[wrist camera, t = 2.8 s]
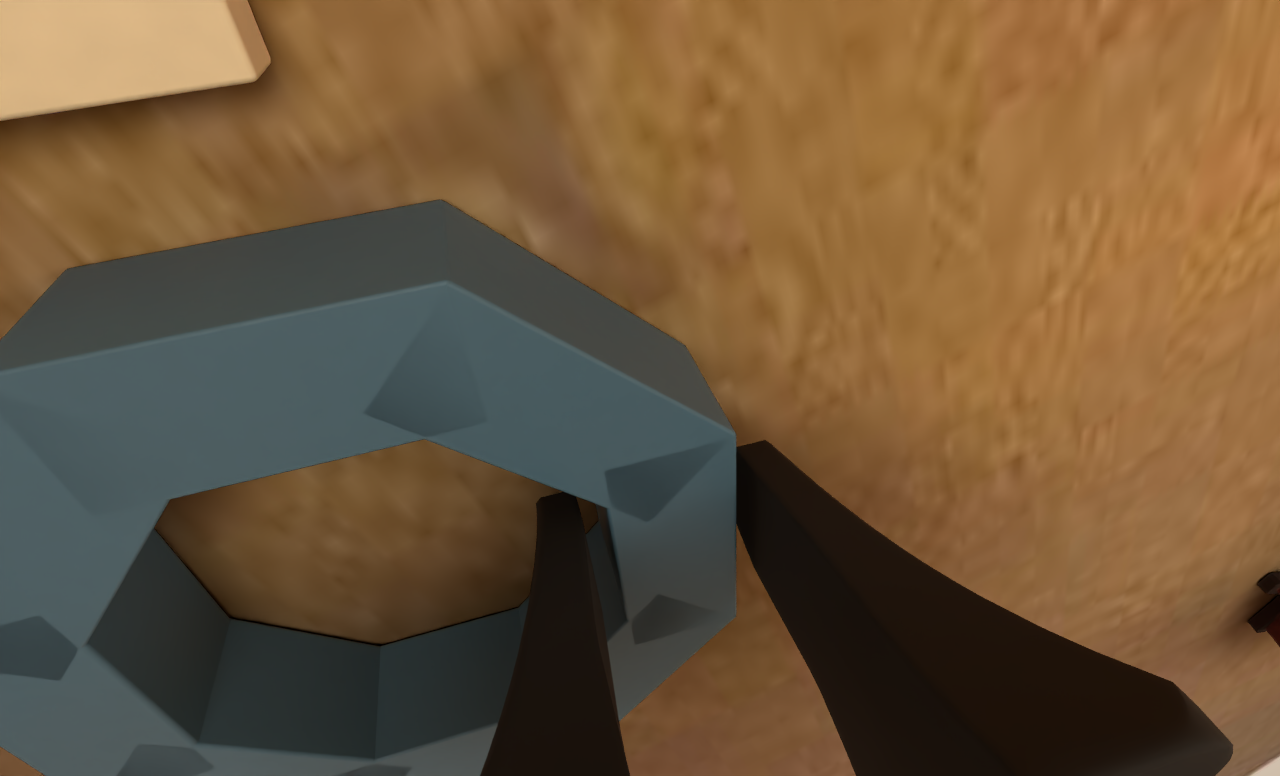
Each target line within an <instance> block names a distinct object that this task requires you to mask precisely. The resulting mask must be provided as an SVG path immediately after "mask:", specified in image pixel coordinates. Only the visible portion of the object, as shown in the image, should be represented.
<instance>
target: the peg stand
mask: <svg viewBox="0 0 1280 776" xmlns="http://www.w3.org/2000/svg"><path fill="white" fill-rule="evenodd" d="M270 64H271V58H270V56H269V53H268V51H267V48H266V46H265V43H264V41H263V38H262V36H261V33H260V31H259V28H258V26H257V23H256V21H255V18H254V16H253V13H252V11H251V8H250V6H249V3H248V1H247V0H0V121H4V120H11V119H17V118H24V117H30V116H37V115H43V114H50V113H56V112H63V111H69V110H76V109H82V108H89V107H95V106H102V105H108V104H115V103H121V102H128V101H135V100H141V99H148V98H154V97H161V96H167V95H174V94H180V93H187V92H193V91H200V90H206V89H213V88H219V87H226V86H232V85H239V84H245V83H252V82H254V81H256V80H257V79H258V78H259V77H260V76H261V74H262V73H263V72H264V71H265V70H266V68H267V67H268V66H269V65H270Z"/></svg>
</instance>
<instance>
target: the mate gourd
mask: <svg viewBox="0 0 1280 776" xmlns="http://www.w3.org/2000/svg"><path fill="white" fill-rule="evenodd" d="M1258 586H1259V587H1260V588H1261V589H1262V590H1263V591H1264V592H1265V593H1267V594H1280V572H1275V573H1271V574H1269V575H1267V576H1266V577H1265V578H1264V579H1263V580H1262V581H1260V582H1259V583H1258ZM1248 623H1249V624H1250V625H1251V626H1252V627H1253V628H1254V630H1255V631H1256V632H1257V633H1260V632H1265V631H1267V632H1268V633H1269V634H1270V635H1271V636H1272V638H1273V639H1274V640H1275V642H1276V643H1277V644H1278V645H1279V647H1280V595H1279V596H1278V597H1277V598H1275V599H1274V600H1273V601H1272V602H1271V603H1269V604H1268V605H1267V606H1266V607H1265V608H1263V609H1262V610H1261V611H1260V612H1259V613H1257V614H1256V615H1255V616H1254V617H1253V618H1252V619H1251V620H1249V621H1248Z"/></svg>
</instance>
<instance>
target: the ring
mask: <svg viewBox="0 0 1280 776" xmlns="http://www.w3.org/2000/svg"><path fill="white" fill-rule="evenodd" d="M423 439H425V440H428V441H431V442H433V443H436V444H439V445H441V446H444V447H447V448H449V449H452V450H454V451H457V452H460V453H462V454H465V455H468V456H470V457H473V458H476V459H478V460H481V461H484V462H486V463H489V464H491V465H494V466H497V467H499V468H502V469H505V470H507V471H510V472H513V473H515V474H518V475H521V476H523V477H526V478H529V479H531V480H534V481H536V482H539V483H542V484H544V485H547V486H550V487H552V488H555V489H558V490H560V491H563V492H566V493H568V494H571V495H573V496H576V497H579V498H581V499H584V500H587V501H589V502H592V503H595V504H596V509H597V514H598V519H599V521H598V522H597V523H596V524H595V525H594V526H593V528H592V529H591V530H590V531H589V532H588V533H587V534H586V539H587V543H588V548H589V553H590V557H591V562H592V566H593V571H594V575H595V580H596V584H597V589H598V593H599V598H600V603H601V607H602V612H603V619H604V625H605V632H606V638H607V645H608V652H609V658H610V665H611V671H612V678H613V685H614V691H615V698H616V705H617V711H618V718H619V721H620V720H621V719H622V718H623V717H625V716H626V715H627V714H628V713H629V712H630V711H631V710H632V709H633V708H635V707H636V706H637V705H638V704H639V703H640V702H641V701H642V700H643V699H645V698H646V697H647V696H648V695H649V694H650V693H651V692H652V691H653V690H655V689H656V688H657V687H658V686H659V685H660V684H661V683H662V682H664V681H665V680H666V679H667V678H668V677H669V676H670V675H671V674H672V673H674V672H675V671H676V670H677V669H678V668H679V667H680V666H681V665H682V664H684V663H685V662H686V661H687V660H688V659H689V658H690V657H691V656H692V655H694V654H695V653H696V652H697V651H698V650H699V649H700V648H701V647H703V646H704V645H705V644H706V643H707V642H708V641H709V640H710V639H711V638H713V637H714V636H715V635H716V634H717V633H718V632H719V631H720V630H721V629H723V628H724V627H725V626H726V625H727V624H728V623H729V622H730V621H731V620H733V619H734V618H735V617H736V433H735V431H734V430H733V428H732V426H731V424H730V423H729V421H728V419H727V417H726V416H725V414H724V412H723V410H722V409H721V407H720V405H719V403H718V402H717V400H716V398H715V397H714V395H713V393H712V391H711V390H710V388H709V386H708V384H707V383H706V381H705V379H704V377H703V376H702V374H701V372H700V370H699V369H698V367H697V365H696V364H695V362H694V360H693V358H692V357H691V355H690V353H689V351H688V350H687V348H686V346H685V345H683V344H682V343H680V342H678V341H677V340H675V339H673V338H672V337H670V336H668V335H667V334H665V333H663V332H662V331H660V330H658V329H657V328H655V327H653V326H652V325H650V324H648V323H647V322H645V321H643V320H642V319H640V318H638V317H637V316H635V315H633V314H632V313H630V312H628V311H627V310H625V309H623V308H622V307H620V306H618V305H617V304H615V303H613V302H612V301H610V300H608V299H607V298H605V297H603V296H602V295H600V294H598V293H597V292H595V291H593V290H592V289H590V288H588V287H587V286H585V285H583V284H582V283H580V282H578V281H577V280H575V279H573V278H572V277H570V276H568V275H567V274H565V273H563V272H562V271H560V270H558V269H557V268H555V267H553V266H552V265H550V264H548V263H547V262H545V261H543V260H542V259H540V258H538V257H537V256H535V255H533V254H532V253H530V252H528V251H527V250H525V249H523V248H522V247H520V246H518V245H517V244H515V243H513V242H512V241H510V240H508V239H507V238H505V237H503V236H502V235H500V234H498V233H497V232H495V231H493V230H492V229H490V228H488V227H487V226H485V225H483V224H482V223H480V222H478V221H477V220H475V219H473V218H472V217H470V216H468V215H467V214H465V213H463V212H462V211H460V210H458V209H457V208H455V207H453V206H452V205H450V204H448V203H447V202H445V201H442V200H436V201H430V202H425V203H419V204H414V205H409V206H403V207H398V208H392V209H387V210H382V211H376V212H371V213H365V214H360V215H355V216H349V217H344V218H339V219H333V220H328V221H322V222H317V223H312V224H306V225H301V226H295V227H290V228H285V229H279V230H274V231H268V232H263V233H258V234H252V235H247V236H241V237H236V238H231V239H225V240H220V241H214V242H209V243H204V244H198V245H193V246H187V247H182V248H177V249H171V250H166V251H160V252H155V253H150V254H144V255H139V256H134V257H128V258H123V259H117V260H112V261H107V262H101V263H96V264H90V265H85V266H80V267H74V268H69V269H67V270H65V271H64V272H63V273H62V274H61V275H60V276H59V277H58V278H57V280H56V281H55V282H54V283H53V284H52V285H51V286H50V287H49V288H48V289H47V290H46V291H45V293H44V294H43V295H42V296H41V297H40V298H39V299H38V300H37V301H36V302H35V303H34V304H33V306H32V307H31V308H30V309H29V310H28V311H27V312H26V313H25V314H24V315H23V316H22V317H21V319H20V320H19V321H18V322H17V323H16V324H15V325H14V326H13V327H12V328H11V329H10V330H9V332H8V333H7V334H6V335H5V336H4V337H3V338H2V339H1V340H0V747H2V748H4V749H5V750H7V751H8V752H10V753H11V754H13V755H14V756H16V757H17V758H19V759H21V760H22V761H24V762H25V763H27V764H28V765H30V766H31V767H33V768H34V769H36V770H38V771H39V772H41V773H42V774H44V775H45V776H480V775H481V772H482V769H483V766H484V763H485V761H486V758H487V755H488V752H489V749H490V746H491V743H492V740H493V737H494V734H495V731H496V728H497V725H498V722H499V719H500V716H501V713H502V710H503V706H504V703H505V699H506V696H507V693H508V689H509V686H510V682H511V678H512V675H513V671H514V667H515V663H516V659H517V655H518V651H519V646H520V642H521V637H522V632H523V628H524V623H525V618H526V614H527V609H528V603H529V597H530V596H529V597H528V598H527V599H526V600H525V601H524V602H523V603H522V604H521V605H520V607H519V608H516V609H512V610H508V611H505V612H501V613H498V614H494V615H490V616H487V617H483V618H480V619H476V620H473V621H469V622H465V623H462V624H458V625H455V626H451V627H448V628H444V629H440V630H437V631H433V632H430V633H426V634H422V635H419V636H415V637H412V638H408V639H405V640H401V641H397V642H394V643H390V644H387V645H383V646H375V645H370V644H365V643H359V642H354V641H349V640H343V639H338V638H332V637H327V636H322V635H316V634H311V633H306V632H300V631H295V630H290V629H284V628H279V627H274V626H268V625H263V624H258V623H252V622H247V621H242V620H236V619H231V618H229V617H228V616H227V615H226V614H225V612H224V611H223V610H222V609H221V608H220V606H219V605H218V604H217V603H216V602H215V600H214V599H213V598H212V597H211V596H210V595H209V593H208V592H207V591H206V590H205V589H204V587H203V586H202V585H201V584H200V583H199V581H198V580H197V579H196V578H195V577H194V575H193V574H192V573H191V572H190V571H189V570H188V568H187V567H186V566H185V565H184V564H183V562H182V561H181V560H180V559H179V558H178V556H177V555H176V554H175V553H174V552H173V550H172V549H171V548H170V547H169V546H168V545H167V543H166V542H165V541H164V540H163V539H162V537H161V536H160V535H159V534H158V533H157V531H156V530H155V529H154V527H155V525H156V523H157V522H158V520H159V518H160V516H161V515H162V513H163V511H164V510H165V508H166V506H167V504H168V503H169V501H170V499H174V498H178V497H182V496H186V495H191V494H195V493H199V492H203V491H207V490H212V489H216V488H220V487H224V486H229V485H233V484H237V483H241V482H245V481H250V480H254V479H258V478H262V477H267V476H271V475H275V474H279V473H283V472H288V471H292V470H296V469H300V468H305V467H309V466H313V465H317V464H321V463H326V462H330V461H334V460H338V459H343V458H347V457H351V456H355V455H359V454H364V453H368V452H372V451H376V450H381V449H385V448H389V447H393V446H397V445H402V444H406V443H410V442H414V441H419V440H423Z"/></svg>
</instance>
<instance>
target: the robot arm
mask: <svg viewBox="0 0 1280 776" xmlns="http://www.w3.org/2000/svg"><path fill="white" fill-rule="evenodd" d="M536 508H537V541H536V552H535V563H534V570H533V577H532V584H531V590H530V597H529V603H528V609H527V614H526V618H525V623H524V628H523V632H522V637H521V642H520V646H519V651H518V655H517V659H516V663H515V667H514V671H513V675H512V678H511V682H510V686H509V689H508V693H507V696H506V699H505V703H504V706H503V710H502V713H501V716H500V719H499V722H498V725H497V728H496V731H495V734H494V737H493V740H492V743H491V746H490V749H489V752H488V755H487V758H486V761H485V763H484V766H483V769H482V772H481V775H480V776H630V773H629V769H628V765H627V761H626V756H625V752H624V746H623V741H622V736H621V730H620V724H619V718H618V711H617V705H616V698H615V691H614V685H613V678H612V671H611V665H610V658H609V652H608V645H607V638H606V632H605V625H604V619H603V612H602V607H601V603H600V598H599V593H598V589H597V584H596V580H595V575H594V571H593V566H592V562H591V557H590V553H589V548H588V543H587V539H586V534H585V530H584V525H583V521H582V517H581V513H580V509H579V506H578V502H577V498H576V496H573V495H571V494H568V493H566V492H560V493H556V494H553V495H549V496H545V497H541V498H540V499H539V501H538V502H537V503H536ZM736 524H737V526H738V529H739V531H740V534H741V536H742V539H743V541H744V544H745V547H746V549H747V551H748V554H749V556H750V559H751V561H752V564H753V566H754V568H755V570H756V572H757V574H758V576H759V578H760V579H761V581H762V583H763V585H764V587H765V589H766V591H767V592H768V594H769V596H770V598H771V600H772V602H773V603H774V605H775V607H776V609H777V611H778V613H779V614H780V616H781V618H782V620H783V622H784V624H785V625H786V627H787V629H788V631H789V633H790V635H791V636H792V638H793V640H794V642H795V644H796V645H797V647H798V649H799V651H800V653H801V655H802V656H803V658H804V660H805V662H806V664H807V666H808V667H809V669H810V671H811V673H812V675H813V677H814V679H815V681H816V683H817V685H818V687H819V689H820V691H821V694H822V696H823V698H824V701H825V703H826V705H827V708H828V710H829V712H830V715H831V717H832V719H833V721H834V724H835V726H836V728H837V731H838V733H839V735H840V738H841V740H842V742H843V745H844V747H845V750H846V752H847V755H848V757H849V759H850V762H851V764H852V767H853V769H854V772H855V774H856V776H1215V775H1216V774H1217V773H1218V772H1219V771H1220V770H1221V769H1222V768H1223V767H1224V766H1225V765H1226V764H1227V763H1228V762H1229V761H1230V759H1231V756H1232V754H1233V744H1232V743H1231V742H1230V741H1229V740H1228V739H1227V737H1226V736H1225V735H1224V734H1223V733H1222V732H1221V731H1220V730H1219V729H1218V728H1217V727H1216V726H1215V724H1214V723H1213V722H1212V721H1211V720H1210V719H1209V718H1208V717H1207V716H1206V715H1205V714H1204V712H1203V711H1202V710H1201V709H1200V708H1199V707H1198V706H1197V705H1196V704H1195V703H1194V702H1193V701H1192V700H1191V699H1190V698H1189V697H1188V696H1187V695H1186V694H1185V693H1184V692H1183V691H1181V690H1180V689H1179V688H1178V687H1177V686H1176V685H1175V684H1174V683H1173V682H1171V681H1169V680H1166V679H1164V678H1161V677H1159V676H1156V675H1153V674H1151V673H1148V672H1146V671H1143V670H1141V669H1138V668H1136V667H1133V666H1131V665H1128V664H1125V663H1123V662H1120V661H1118V660H1115V659H1113V658H1110V657H1108V656H1105V655H1103V654H1100V653H1098V652H1095V651H1093V650H1091V649H1088V648H1086V647H1084V646H1081V645H1079V644H1077V643H1075V642H1073V641H1070V640H1068V639H1066V638H1064V637H1061V636H1059V635H1057V634H1055V633H1053V632H1050V631H1048V630H1046V629H1044V628H1042V627H1040V626H1038V625H1036V624H1034V623H1032V622H1030V621H1028V620H1026V619H1024V618H1022V617H1020V616H1018V615H1016V614H1014V613H1012V612H1010V611H1008V610H1006V609H1004V608H1002V607H1000V606H998V605H996V604H995V603H993V602H991V601H989V600H987V599H985V598H983V597H981V596H979V595H977V594H976V593H974V592H972V591H970V590H969V589H967V588H965V587H963V586H962V585H960V584H958V583H956V582H955V581H953V580H951V579H950V578H948V577H946V576H945V575H943V574H941V573H940V572H938V571H937V570H935V569H933V568H932V567H930V566H928V565H927V564H925V563H924V562H922V561H921V560H919V559H917V558H916V557H914V556H913V555H911V554H910V553H908V552H907V551H905V550H904V549H902V548H901V547H899V546H898V545H897V544H895V543H894V542H892V541H891V540H889V539H888V538H887V537H885V536H884V535H882V534H881V533H879V532H878V531H877V530H875V529H874V528H873V527H871V526H870V525H869V524H867V523H866V522H864V521H863V520H862V519H860V518H859V517H858V516H857V515H855V514H854V513H853V512H851V511H850V510H849V509H848V508H846V507H845V506H844V505H842V504H841V503H840V502H839V501H837V500H836V499H835V498H834V497H832V496H831V495H830V494H829V493H827V492H826V491H825V490H824V489H822V488H821V487H820V486H819V485H818V484H816V483H815V482H814V481H813V480H812V479H811V478H809V477H808V476H807V475H806V474H805V473H803V472H802V471H801V470H800V469H799V468H798V467H796V466H795V465H794V464H793V463H792V462H791V461H790V460H788V459H787V458H786V457H785V456H784V455H783V454H782V453H781V452H779V451H778V450H777V449H776V448H775V447H774V446H773V445H772V444H770V443H769V442H767V441H766V440H763V441H759V442H756V443H752V444H748V445H744V446H740V447H736Z"/></svg>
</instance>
